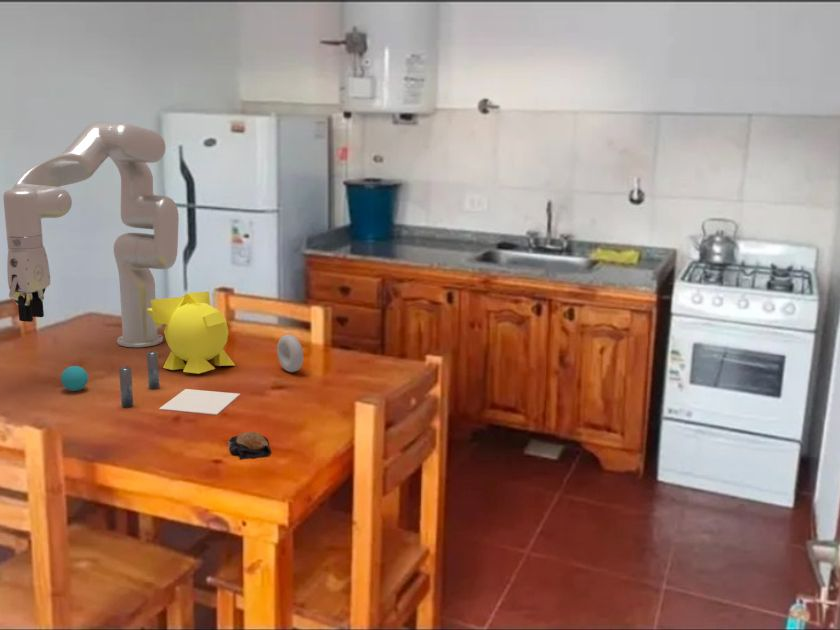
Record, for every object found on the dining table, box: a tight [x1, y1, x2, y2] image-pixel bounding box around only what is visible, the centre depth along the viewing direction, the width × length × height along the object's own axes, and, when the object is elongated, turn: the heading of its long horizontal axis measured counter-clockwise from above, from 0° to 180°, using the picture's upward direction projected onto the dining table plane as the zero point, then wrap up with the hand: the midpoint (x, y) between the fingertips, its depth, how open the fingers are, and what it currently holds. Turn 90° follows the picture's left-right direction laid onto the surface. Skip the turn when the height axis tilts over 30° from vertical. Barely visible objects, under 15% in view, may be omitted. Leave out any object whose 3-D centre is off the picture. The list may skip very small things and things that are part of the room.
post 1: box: [118, 366, 134, 409], centre depth 197 cm, size 3×3×9 cm
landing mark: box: [158, 388, 241, 416], centre depth 202 cm, size 14×14×1 cm
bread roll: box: [227, 431, 272, 461], centre depth 176 cm, size 11×8×4 cm
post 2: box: [146, 350, 161, 390], centre depth 210 cm, size 3×3×9 cm
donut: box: [276, 334, 304, 373], centre depth 225 cm, size 10×4×10 cm, turn 40°
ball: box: [60, 365, 89, 392], centre depth 207 cm, size 6×6×6 cm
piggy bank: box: [147, 291, 236, 375], centre depth 226 cm, size 20×20×19 cm
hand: (31, 318), depth 205 cm, fingers open, 3 cm apart
